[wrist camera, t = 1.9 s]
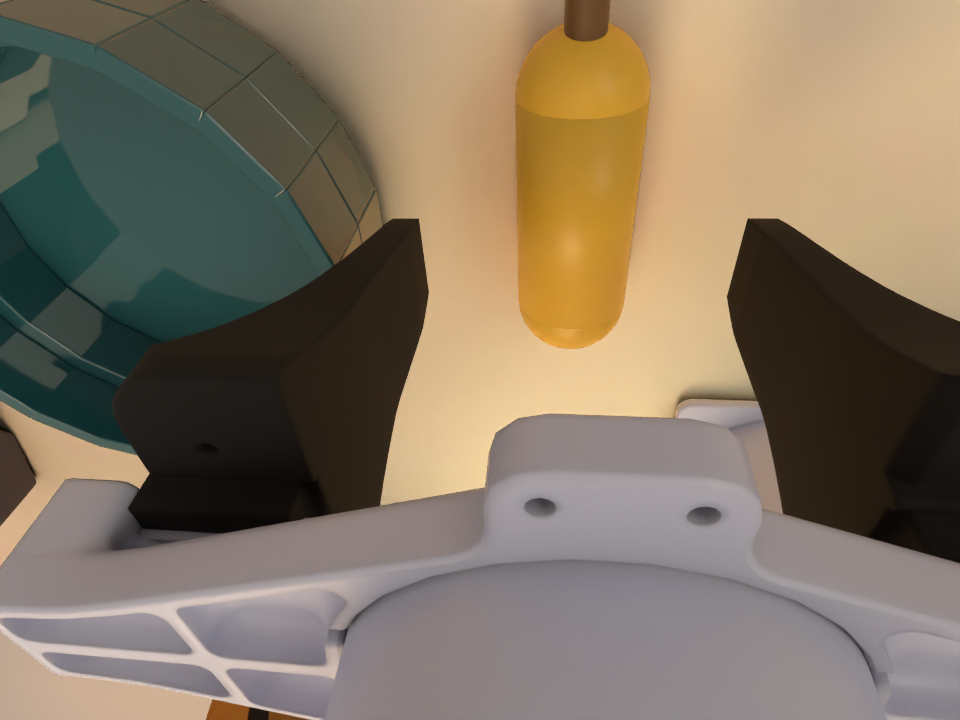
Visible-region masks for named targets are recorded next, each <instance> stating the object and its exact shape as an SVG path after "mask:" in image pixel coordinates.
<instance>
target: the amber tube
mask: <svg viewBox="0 0 960 720" xmlns="http://www.w3.org/2000/svg"><path fill="white" fill-rule="evenodd" d="M609 9H610V0H565V16H564V24H561V25H560V26H558V27H556V28H554V29H552V30H551V31H549V32H548V33H547V34H545V35H544V36H543V37H542V38H541V39H540V40H539V41H538V42H536V44H535V45H534V46H533V48H532V49H531V50H530V52H529V53H528V55H527V57H526V59H525V61H524V63H523V65H522V67H521V69H520V72H519V76H518V80H517V84H516V158H517V224H518V289H519V305H520V311H521V313H522V316H523V318H524V321H525V323H526V324H527V326H528V327H529V328H530V330H531V331H532V332H533V334H535V335H536V336H537V337H538V338H539V339H541V340H542V341H544V342H546V343H547V344H549V345H552V346H555V347H559V348H566V349H577V348H583V347H586V346H589V345H592V344H594V343H596V342H597V341H599V340H601V339H602V338H604V337H605V336H606V335H607V334H608V333H609V332H610V331H611V330H612V329H613V327H614V326H615V325H616V323H617V321H618V319H619V317H620V315H621V312H622V308H623V304H624V298H625V290H626V282H627V274H628V266H629V258H630V250H631V242H632V235H633V227H634V219H635V211H636V203H637V195H638V187H639V179H640V171H641V164H642V156H643V148H644V140H645V132H646V124H647V116H648V108H649V100H650V76H649V71H648V66H647V63H646V61H645V58H644V55H643V53H642V52H641V50H640V49H639V47H638V46H637V44H636V43H635V41H634V40H633V39H632V38H631V37H630V36H629V35H628V34H627V33H626V32H624V31H623V30H622V29H620V28H618V27H616V26H614V25H613V24H611V23H608V22H609Z"/></svg>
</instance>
